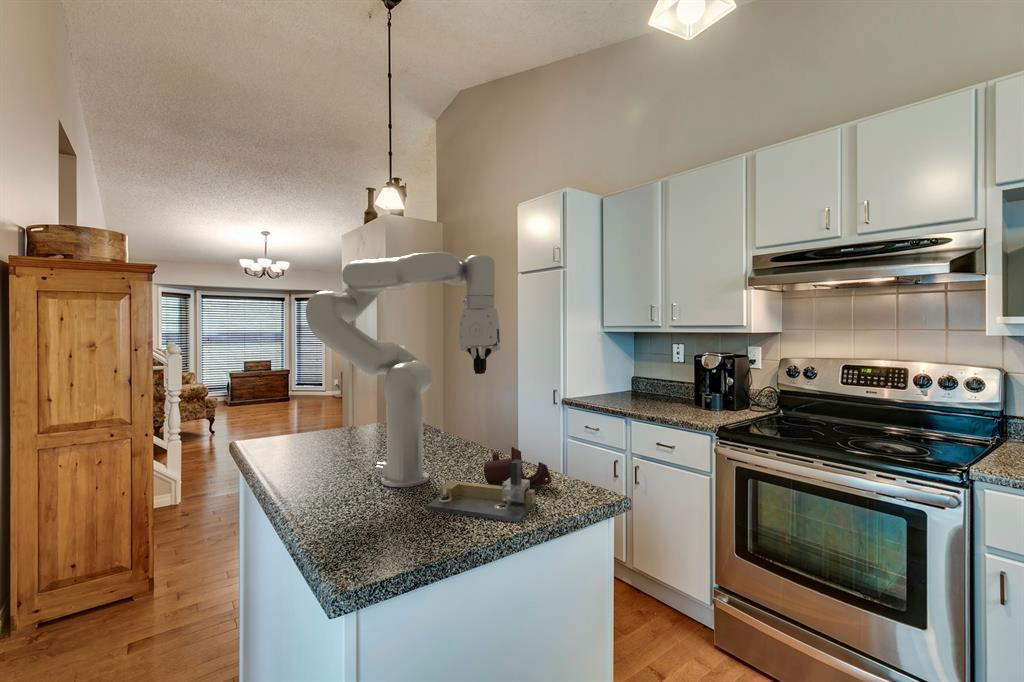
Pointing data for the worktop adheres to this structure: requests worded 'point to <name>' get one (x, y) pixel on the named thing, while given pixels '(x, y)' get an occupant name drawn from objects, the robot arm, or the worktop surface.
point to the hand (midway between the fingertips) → (479, 373)
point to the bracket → (502, 470)
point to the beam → (478, 491)
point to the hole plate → (482, 508)
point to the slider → (515, 484)
